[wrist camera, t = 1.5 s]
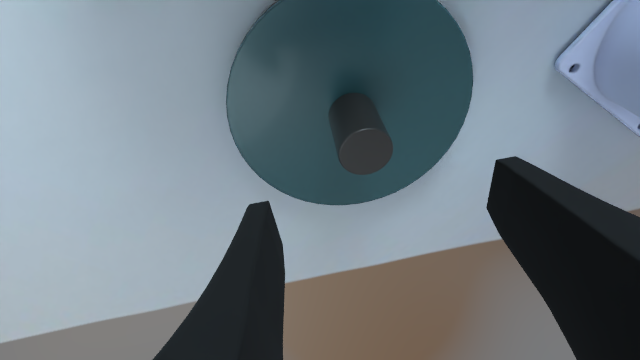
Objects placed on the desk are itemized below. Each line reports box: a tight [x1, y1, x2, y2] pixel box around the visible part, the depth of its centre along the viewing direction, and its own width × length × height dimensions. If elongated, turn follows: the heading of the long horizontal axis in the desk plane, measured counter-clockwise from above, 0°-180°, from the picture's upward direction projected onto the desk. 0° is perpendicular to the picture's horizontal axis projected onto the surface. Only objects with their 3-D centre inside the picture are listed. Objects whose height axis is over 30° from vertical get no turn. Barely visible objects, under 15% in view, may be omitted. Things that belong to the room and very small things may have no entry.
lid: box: [226, 0, 473, 205], centre depth 17 cm, size 12×12×5 cm
